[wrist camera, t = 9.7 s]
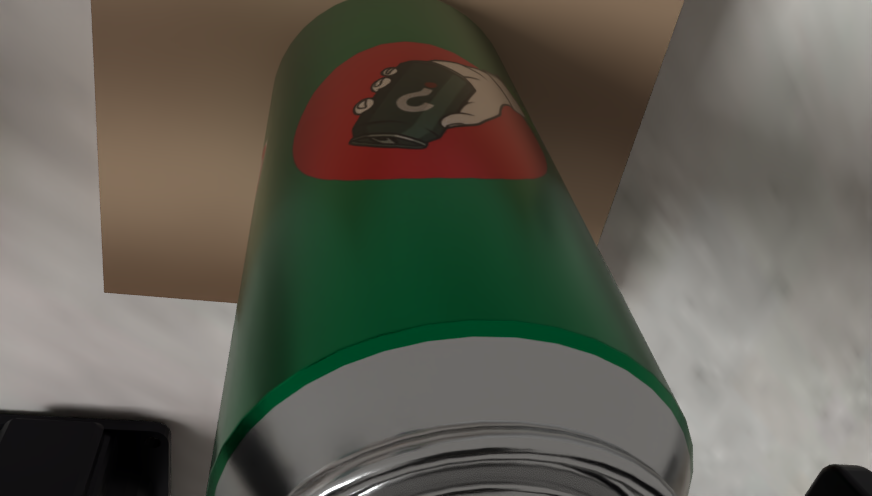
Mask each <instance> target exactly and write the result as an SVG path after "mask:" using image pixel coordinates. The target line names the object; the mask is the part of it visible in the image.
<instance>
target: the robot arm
mask: <svg viewBox="0 0 872 496" xmlns="http://www.w3.org/2000/svg"><path fill="white" fill-rule="evenodd" d="M150 437H156V438H157V439H154V438H150ZM170 478H171V432H170V429H169V428H168V427H167V426H166V425H164V424H162V423H158V422H147V421H127V420H108V419H88V418H69V417H49V416H30V415H10V414H0V496H170ZM805 496H872V472H871V471H870V470H868V469H866V468H864V467H861V466H857V465H839V464H832V465H828V466H826V467H825V468H823V469H822V470H821V472H820V473H819V475H818V476H817V478H816V479H815V481H814V482H813V484H812V485H811V487H810V488H809V490H808V491H807V493H806V494H805Z"/></svg>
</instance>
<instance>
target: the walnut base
mask: <svg viewBox="0 0 872 496" xmlns="http://www.w3.org/2000/svg"><path fill="white" fill-rule="evenodd" d="M344 1H346V0H91V13H92V35H93V57H94V79H95V100H96V122H97V144H98V166H99V188H100V210H101V232H102V254H103V276H104V292H105V293H117V294H129V295H142V296H154V297H166V298H179V299H191V300H203V301H216V302H228V303H238V297H239V291H240V285H241V279H242V273H243V267H244V261H245V255H246V249H247V243H248V236H249V230H250V224H251V218H252V212H253V206H254V200H255V194H256V188H257V182H258V176H259V170H260V164H261V158H262V152H263V146H264V139H265V133H266V127H267V121H268V115H269V109H270V103H271V97H272V91H273V86H274V80H275V76H276V73H277V70H278V68H279V65H280V62H281V60H282V58H283V56H284V54H285V53H286V51H287V49H288V47H289V46H290V44H291V42H292V41H293V40H294V39H295V38H296V36H297V35H298V34H299V33H300V32H301V30H302V29H303V28H304V27H305V26H306V25H308V24H309V23H310V22H311V21H312V20H313V19H315V18H316V17H317V16H318V15H320V14H321V13H323V12H325V11H326V10H328V9H329V8H331V7H333V6H334V5H336V4H339V3H341V2H344ZM438 1H441V2H443V3H445V4H447V5H450V6H452V7H453V8H455V9H456V10H458V11H459V12H461V13H462V14H464V15H466V16H467V17H468V18H469V19H470V20H472V21H473V22H474V23H475V24H476V25H477V26H478V27H479V28H480V29H481V30H482V31H483V32H484V34H485V35H486V36H487V38H488V39H489V40H490V41H491V43H492V44H493V46H494V48H495V50H496V51H497V53H498V55H499V57H500V59H501V61H502V63H503V65H504V67H505V69H506V71H507V73H508V75H509V76H510V78H511V80H512V82H513V84H514V86H515V88H516V90H517V92H518V94H519V96H520V98H521V100H522V102H523V104H524V106H525V108H526V109H527V111H528V113H529V115H530V117H531V119H532V121H533V123H534V125H535V127H536V129H537V131H538V133H539V135H540V137H541V139H542V141H543V143H544V144H545V146H546V148H547V150H548V152H549V154H550V156H551V158H552V160H553V162H554V164H555V166H556V168H557V170H558V172H559V174H560V176H561V178H562V179H563V181H564V183H565V185H566V187H567V189H568V191H569V193H570V195H571V197H572V199H573V201H574V203H575V205H576V207H577V209H578V211H579V213H580V214H581V216H582V218H583V220H584V222H585V224H586V226H587V228H588V230H589V232H590V234H591V236H592V238H593V240H594V242H595V244H596V246H597V245H598V242H599V239H600V236H601V234H602V231H603V228H604V225H605V222H606V220H607V217H608V214H609V211H610V208H611V205H612V203H613V200H614V197H615V194H616V191H617V189H618V186H619V183H620V180H621V177H622V174H623V172H624V169H625V166H626V163H627V160H628V158H629V155H630V152H631V149H632V146H633V144H634V141H635V138H636V135H637V132H638V129H639V127H640V124H641V121H642V118H643V115H644V113H645V110H646V107H647V104H648V101H649V99H650V96H651V93H652V90H653V87H654V84H655V82H656V79H657V76H658V73H659V70H660V68H661V65H662V62H663V59H664V56H665V54H666V51H667V48H668V45H669V42H670V39H671V37H672V34H673V31H674V28H675V25H676V23H677V20H678V17H679V14H680V11H681V8H682V6H683V3H684V0H438Z"/></svg>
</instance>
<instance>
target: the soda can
mask: <svg viewBox="0 0 872 496" xmlns="http://www.w3.org/2000/svg"><path fill="white" fill-rule="evenodd" d="M692 474H693V445H692V441H691V437H690V433H689V429H688V425H687V422H686V419H685V417H684V415H683V413H682V411H681V409H680V407H679V405H678V403H677V401H676V399H675V397H674V395H673V393H672V391H671V389H670V388H669V386H668V384H667V382H666V380H665V378H664V376H663V374H662V372H661V370H660V368H659V366H658V364H657V362H656V360H655V358H654V356H653V354H652V353H651V351H650V349H649V347H648V345H647V343H646V341H645V339H644V337H643V335H642V333H641V331H640V329H639V327H638V325H637V323H636V321H635V319H634V318H633V316H632V314H631V312H630V310H629V308H628V306H627V304H626V302H625V300H624V298H623V296H622V294H621V292H620V290H619V288H618V286H617V284H616V283H615V281H614V279H613V277H612V275H611V273H610V271H609V269H608V267H607V265H606V263H605V261H604V259H603V257H602V255H601V253H600V251H599V249H598V248H597V246H596V244H595V242H594V240H593V238H592V236H591V234H590V232H589V230H588V228H587V226H586V224H585V222H584V220H583V218H582V216H581V214H580V213H579V211H578V209H577V207H576V205H575V203H574V201H573V199H572V197H571V195H570V193H569V191H568V189H567V187H566V185H565V183H564V181H563V179H562V178H561V176H560V174H559V172H558V170H557V168H556V166H555V164H554V162H553V160H552V158H551V156H550V154H549V152H548V150H547V148H546V146H545V144H544V143H543V141H542V139H541V137H540V135H539V133H538V131H537V129H536V127H535V125H534V123H533V121H532V119H531V117H530V115H529V113H528V111H527V109H526V108H525V106H524V104H523V102H522V100H521V98H520V96H519V94H518V92H517V90H516V88H515V86H514V84H513V82H512V80H511V78H510V76H509V75H508V73H507V71H506V69H505V67H504V65H503V63H502V61H501V59H500V57H499V55H498V53H497V51H496V50H495V48H494V46H493V44H492V43H491V41H490V40H489V39H488V38H487V36H486V35H485V34H484V32H483V31H482V30H481V29H480V28H479V27H478V26H477V25H476V24H475V23H474V22H473V21H472V20H470V19H469V18H468V17H467V16H466V15H464V14H462V13H461V12H459V11H458V10H456V9H455V8H453V7H452V6H450V5H447V4H445V3H443V2H441V1H438V0H346V1H344V2H341V3H339V4H336V5H334V6H333V7H331V8H329V9H328V10H326V11H325V12H323V13H321V14H320V15H318V16H317V17H316V18H315V19H313V20H312V21H311V22H310V23H309V24H308V25H306V26H305V27H304V28H303V29H302V30H301V32H300V33H299V34H298V35H297V36H296V38H295V39H294V40H293V41H292V42H291V44H290V46H289V47H288V49H287V51H286V53H285V54H284V56H283V58H282V60H281V62H280V65H279V68H278V70H277V73H276V76H275V80H274V86H273V91H272V97H271V103H270V109H269V115H268V121H267V127H266V133H265V139H264V146H263V152H262V158H261V164H260V170H259V176H258V182H257V188H256V194H255V200H254V206H253V212H252V218H251V224H250V230H249V236H248V243H247V249H246V255H245V261H244V267H243V273H242V279H241V285H240V291H239V297H238V303H237V309H236V315H235V321H234V327H233V333H232V340H231V346H230V352H229V358H228V364H227V370H226V376H225V382H224V388H223V394H222V400H221V406H220V412H219V418H218V424H217V431H216V437H215V443H214V449H213V455H212V461H211V467H210V473H209V479H208V485H207V491H206V496H688V493H689V488H690V483H691V479H692Z"/></svg>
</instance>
